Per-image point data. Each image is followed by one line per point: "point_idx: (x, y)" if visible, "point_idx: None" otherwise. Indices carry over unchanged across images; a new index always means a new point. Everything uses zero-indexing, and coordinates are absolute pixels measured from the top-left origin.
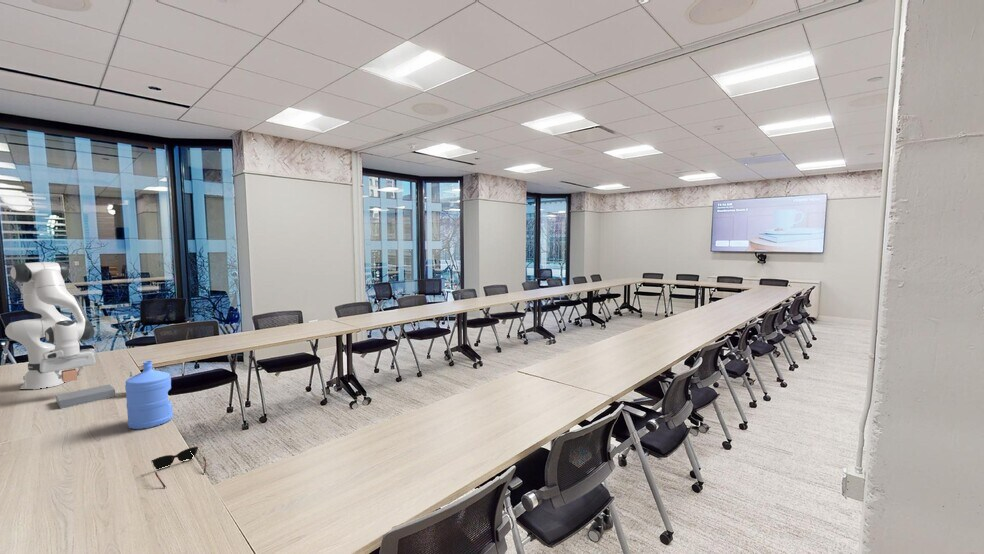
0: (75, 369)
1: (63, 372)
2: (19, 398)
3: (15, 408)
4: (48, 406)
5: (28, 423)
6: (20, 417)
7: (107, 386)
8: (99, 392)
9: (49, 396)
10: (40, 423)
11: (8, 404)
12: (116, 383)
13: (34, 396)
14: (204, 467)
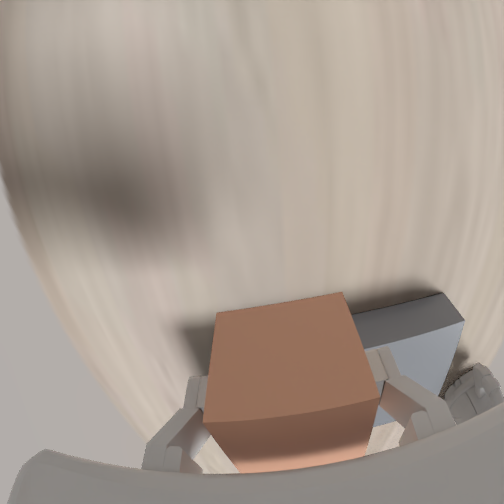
0: (370, 429)
1: (244, 469)
2: (14, 93)
3: (66, 302)
4: (197, 369)
5: (193, 459)
6: (147, 418)
7: (442, 357)
8: (383, 423)
9: (144, 150)
10: (221, 469)
11: (7, 199)
12: (498, 120)
13: (64, 87)
14: None
